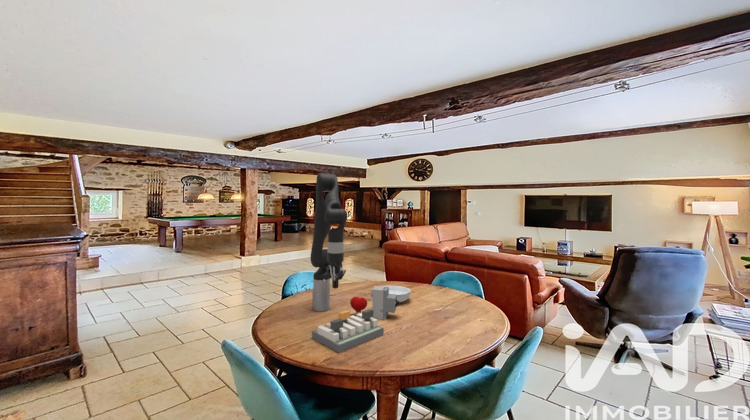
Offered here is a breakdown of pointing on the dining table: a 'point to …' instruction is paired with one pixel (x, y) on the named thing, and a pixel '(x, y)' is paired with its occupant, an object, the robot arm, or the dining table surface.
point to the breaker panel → (350, 343)
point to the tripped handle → (344, 315)
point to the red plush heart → (358, 304)
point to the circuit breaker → (383, 302)
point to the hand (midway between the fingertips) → (335, 287)
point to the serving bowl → (400, 292)
